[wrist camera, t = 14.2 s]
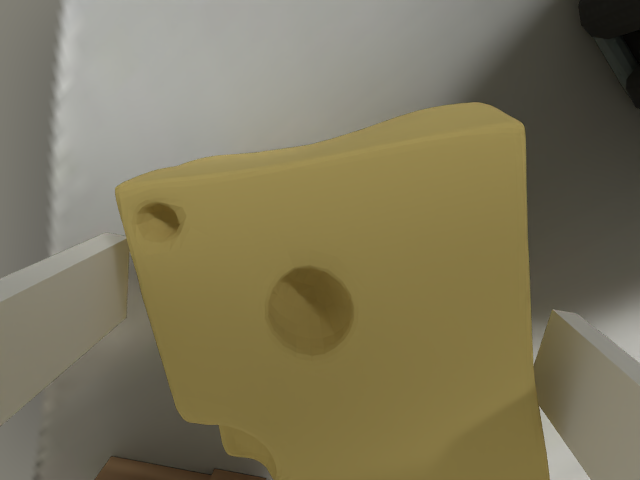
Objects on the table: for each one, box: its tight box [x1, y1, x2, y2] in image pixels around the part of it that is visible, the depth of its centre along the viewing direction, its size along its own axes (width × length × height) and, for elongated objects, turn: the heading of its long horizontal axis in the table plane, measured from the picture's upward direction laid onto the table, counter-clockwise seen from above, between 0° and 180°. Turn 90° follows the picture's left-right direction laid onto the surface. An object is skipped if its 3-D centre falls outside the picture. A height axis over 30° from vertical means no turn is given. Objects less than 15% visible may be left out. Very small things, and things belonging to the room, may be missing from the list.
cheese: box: [115, 102, 550, 480], centre depth 15 cm, size 10×11×10 cm
